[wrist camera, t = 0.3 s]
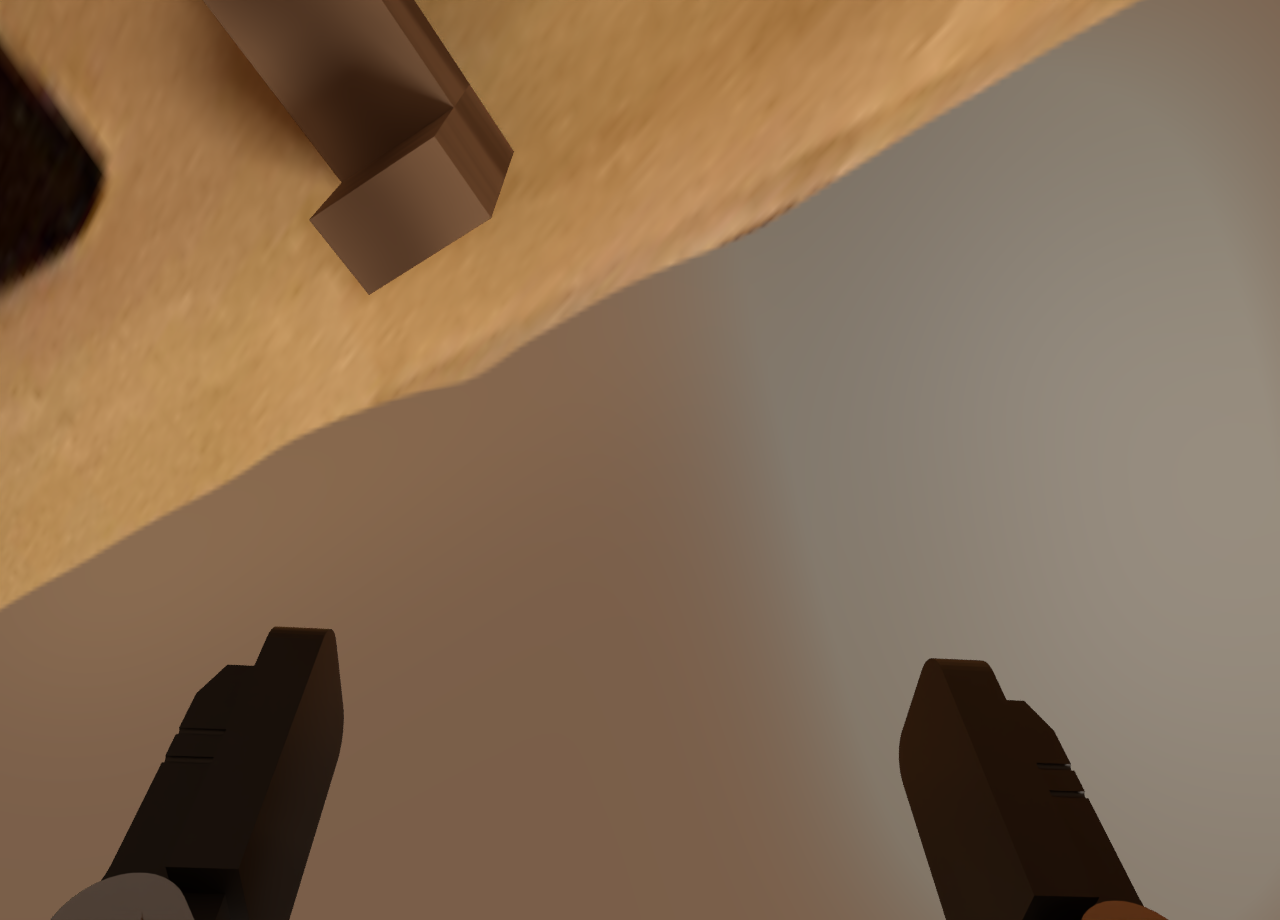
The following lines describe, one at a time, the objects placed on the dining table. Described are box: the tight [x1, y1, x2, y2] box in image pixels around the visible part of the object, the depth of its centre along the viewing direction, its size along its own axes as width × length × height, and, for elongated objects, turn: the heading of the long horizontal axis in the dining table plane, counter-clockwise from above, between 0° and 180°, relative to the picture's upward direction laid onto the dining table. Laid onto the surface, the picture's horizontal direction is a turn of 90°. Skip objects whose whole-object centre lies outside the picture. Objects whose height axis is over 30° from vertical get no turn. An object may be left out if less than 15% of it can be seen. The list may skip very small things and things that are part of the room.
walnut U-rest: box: [203, 0, 514, 295], centre depth 32 cm, size 5×14×9 cm, turn 31°
